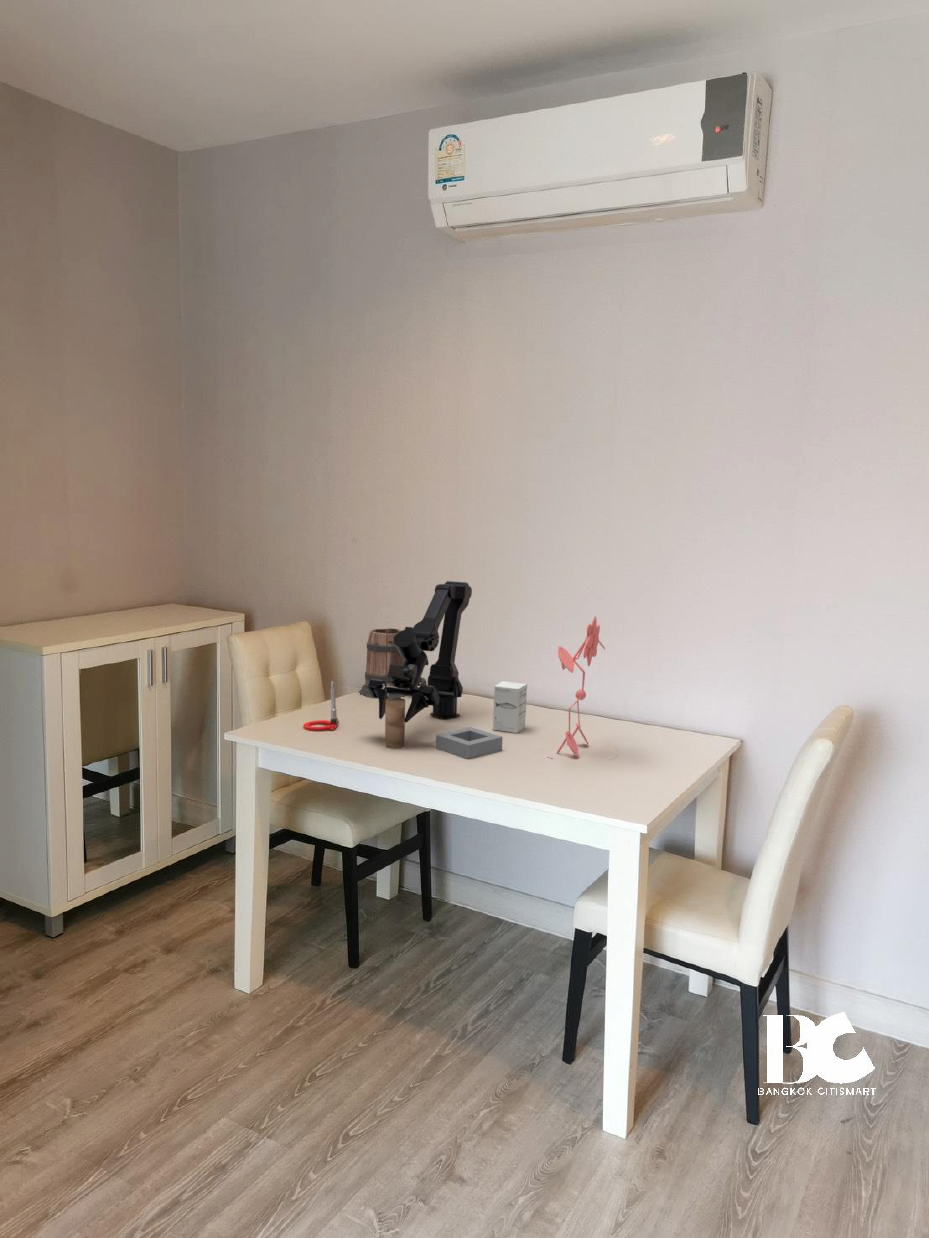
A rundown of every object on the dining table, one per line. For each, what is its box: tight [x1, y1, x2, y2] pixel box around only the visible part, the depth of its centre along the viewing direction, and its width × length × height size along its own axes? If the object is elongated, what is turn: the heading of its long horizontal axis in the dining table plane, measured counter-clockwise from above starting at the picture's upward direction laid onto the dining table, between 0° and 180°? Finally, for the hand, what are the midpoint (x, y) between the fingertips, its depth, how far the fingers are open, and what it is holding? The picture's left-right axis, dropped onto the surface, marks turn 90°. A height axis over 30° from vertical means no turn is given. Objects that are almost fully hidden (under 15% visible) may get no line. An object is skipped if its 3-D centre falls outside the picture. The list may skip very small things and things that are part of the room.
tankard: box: [358, 627, 427, 700], centre depth 293 cm, size 24×17×20 cm
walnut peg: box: [384, 698, 406, 749], centre depth 239 cm, size 5×5×12 cm
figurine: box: [546, 615, 606, 760], centre depth 235 cm, size 15×26×35 cm, turn 158°
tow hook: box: [302, 681, 340, 732], centre depth 254 cm, size 8×13×9 cm
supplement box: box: [492, 680, 528, 734], centre depth 257 cm, size 7×7×13 cm
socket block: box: [435, 726, 503, 760], centre depth 238 cm, size 12×12×4 cm
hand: (392, 720), depth 237 cm, fingers open, 7 cm apart
